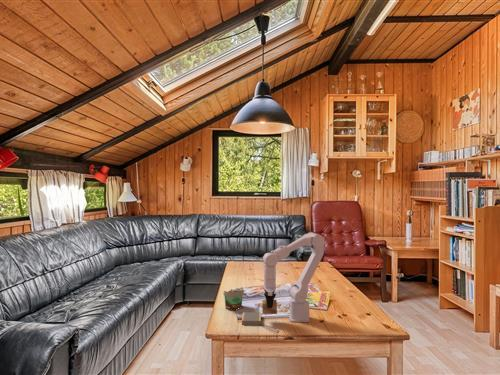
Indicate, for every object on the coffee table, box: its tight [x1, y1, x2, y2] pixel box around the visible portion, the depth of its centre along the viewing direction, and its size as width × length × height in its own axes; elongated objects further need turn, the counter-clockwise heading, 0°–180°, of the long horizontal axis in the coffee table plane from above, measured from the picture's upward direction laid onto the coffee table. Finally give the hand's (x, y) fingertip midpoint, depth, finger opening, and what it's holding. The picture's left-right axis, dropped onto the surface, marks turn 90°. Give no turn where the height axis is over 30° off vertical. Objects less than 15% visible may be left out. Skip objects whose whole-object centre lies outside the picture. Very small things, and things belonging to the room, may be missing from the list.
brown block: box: [261, 299, 278, 315], centre depth 160 cm, size 7×5×5 cm
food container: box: [223, 286, 245, 311], centre depth 176 cm, size 12×6×10 cm, turn 126°
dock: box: [241, 311, 262, 326], centre depth 161 cm, size 9×10×2 cm
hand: (269, 305), depth 160 cm, fingers closed on brown block, 5 cm apart
